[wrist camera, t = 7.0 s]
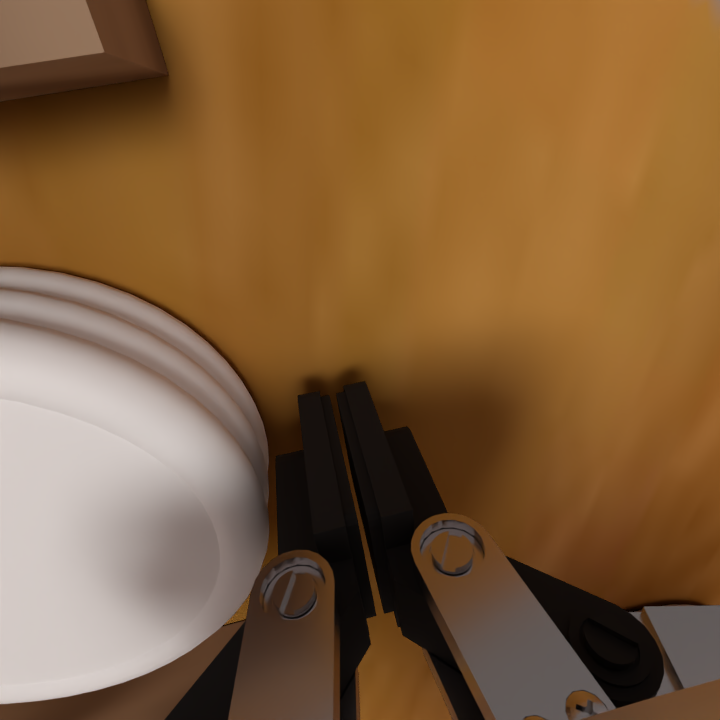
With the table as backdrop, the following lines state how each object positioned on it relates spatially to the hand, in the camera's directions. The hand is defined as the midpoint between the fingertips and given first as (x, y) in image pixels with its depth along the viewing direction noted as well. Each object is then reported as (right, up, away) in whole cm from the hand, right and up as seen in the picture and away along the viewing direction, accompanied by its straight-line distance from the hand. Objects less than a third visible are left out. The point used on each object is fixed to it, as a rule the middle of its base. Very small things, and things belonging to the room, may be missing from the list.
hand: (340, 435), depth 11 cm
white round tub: (-7, 0, 0) cm, 7 cm away
